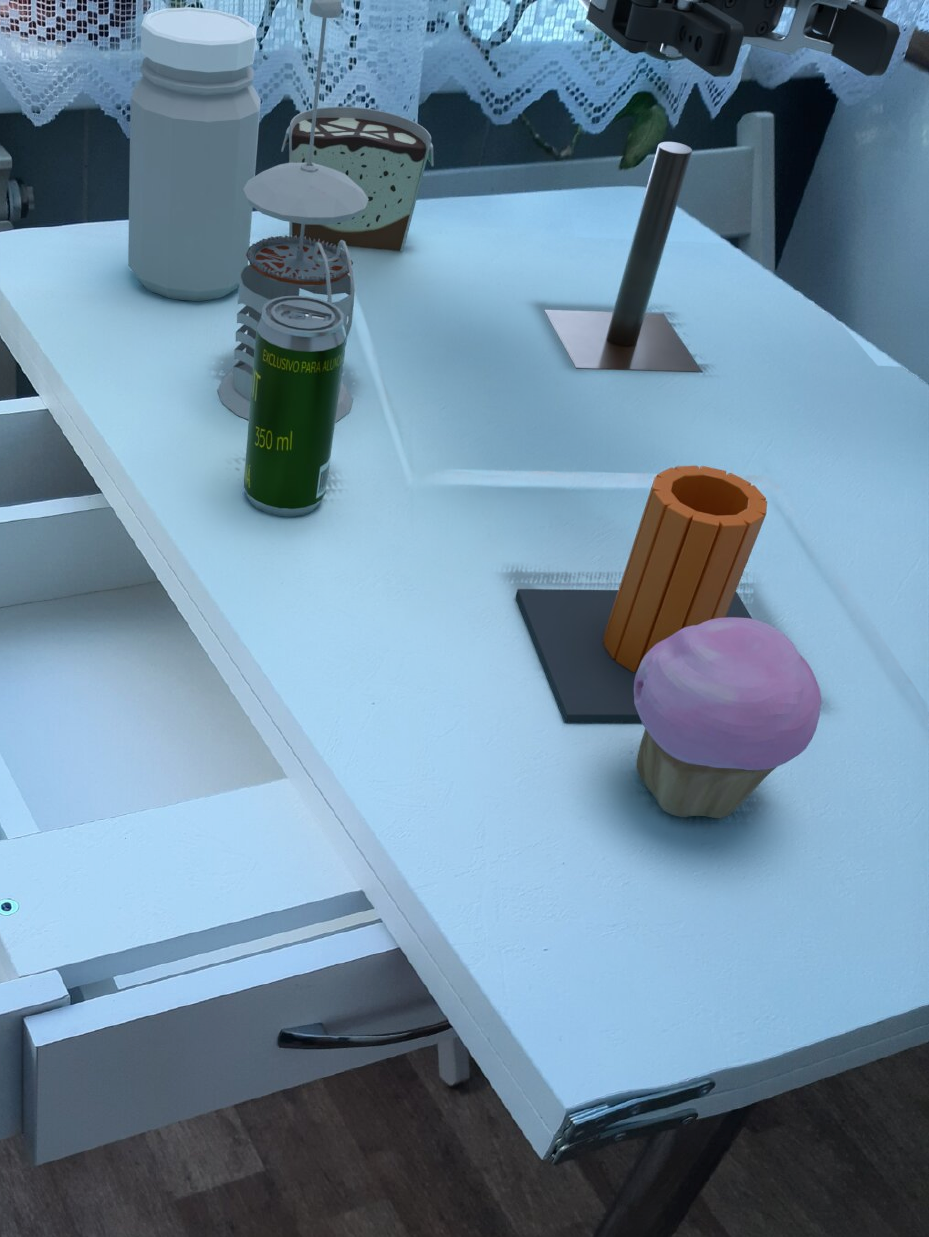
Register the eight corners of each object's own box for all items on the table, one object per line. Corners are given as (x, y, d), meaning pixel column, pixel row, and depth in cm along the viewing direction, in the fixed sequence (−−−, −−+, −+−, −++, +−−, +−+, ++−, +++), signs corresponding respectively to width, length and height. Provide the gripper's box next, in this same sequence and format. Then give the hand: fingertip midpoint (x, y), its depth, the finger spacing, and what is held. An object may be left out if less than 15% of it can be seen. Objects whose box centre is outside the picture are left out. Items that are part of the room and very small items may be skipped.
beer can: (328, 482, 92) (352, 301, 83) (319, 524, 88) (343, 340, 79) (248, 470, 92) (264, 289, 83) (236, 512, 88) (251, 327, 80)
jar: (108, 290, 109) (110, 29, 96) (152, 245, 116) (159, -4, 103) (225, 316, 108) (243, 55, 95) (263, 269, 114) (285, 19, 101)
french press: (318, 357, 104) (365, -34, 86) (387, 432, 97) (454, 23, 79) (197, 371, 101) (219, -31, 83) (259, 450, 94) (297, 29, 76)
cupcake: (742, 744, 76) (810, 590, 69) (792, 856, 70) (872, 700, 63) (585, 740, 75) (637, 583, 68) (621, 852, 70) (682, 694, 62)
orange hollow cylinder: (643, 606, 84) (695, 454, 76) (726, 655, 81) (788, 501, 74) (583, 642, 81) (631, 487, 73) (667, 694, 78) (725, 538, 71)
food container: (413, 238, 121) (433, 113, 114) (417, 267, 117) (438, 139, 110) (273, 225, 121) (284, 98, 114) (271, 253, 117) (283, 123, 109)
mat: (733, 599, 86) (736, 590, 86) (804, 722, 78) (808, 714, 78) (515, 597, 84) (517, 588, 84) (564, 723, 76) (567, 714, 76)
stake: (659, 328, 112) (719, 126, 102) (698, 387, 106) (767, 177, 95) (540, 324, 111) (588, 119, 100) (572, 383, 105) (627, 171, 94)
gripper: (553, -127, 72) (705, -41, 62) (790, -120, 75) (971, -37, 65) (521, 37, 77) (656, 142, 67) (744, 37, 81) (904, 137, 70)
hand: (811, 53), depth 66 cm, fingers open, 8 cm apart
